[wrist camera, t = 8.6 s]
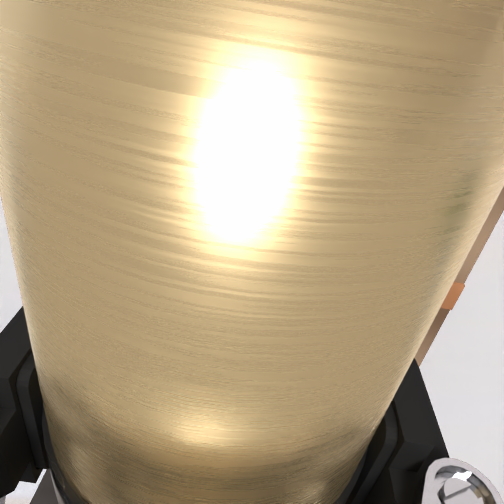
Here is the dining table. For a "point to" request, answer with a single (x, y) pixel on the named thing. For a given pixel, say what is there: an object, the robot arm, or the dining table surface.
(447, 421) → the dining table surface
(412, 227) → the brass tube
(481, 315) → the dining table surface
